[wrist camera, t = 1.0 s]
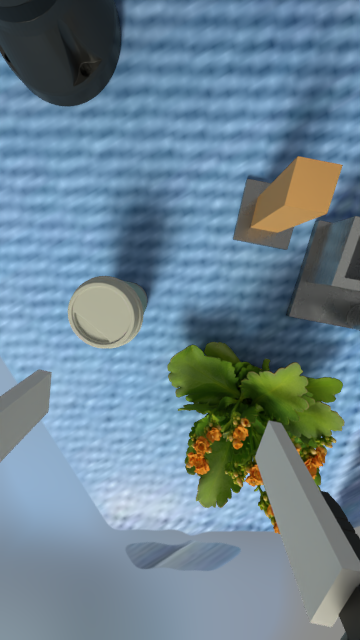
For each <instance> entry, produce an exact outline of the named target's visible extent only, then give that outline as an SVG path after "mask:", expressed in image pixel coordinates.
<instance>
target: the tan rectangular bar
mask: <svg viewBox="0 0 360 640" xmlns="http://www.w3.org/2000/svg"><path fill="white" fill-rule="evenodd" d="M341 169H342V165H340V164H335V163H330V162H324V161H319V160H314V159H309V158H304V157H299V156H298V157H297V158H296V159H295V160H294V161H293V162H292V163H291V164H290V165H289V166H288V167H287V168H286V169H285V170H284V171H283V172H282V173H281V174H280V175H279V176H278V177H277V178H276V179H275V180H274V181H273V182H272V183H271V184H270V185H269V186H268V187H267V188H266V189H265V190H264V192H263V193H262V194H261V195H260V196H259V197H258V199H257V203H256V207H255V211H254V215H253V219H252V223H251V228H256V229H261V230H267V231H272V232H277V233H278V232H281V231H283V230H286V229H289V228H291V227H294V226H296V225H299V224H301V223H304V222H307V221H309V220H312V219H314V218H317V217H320V216H322V215H325V214H327V212H328V209H329V206H330V203H331V200H332V197H333V194H334V190H335V187H336V184H337V181H338V178H339V175H340V172H341Z"/></svg>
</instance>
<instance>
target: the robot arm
mask: <svg viewBox="0 0 360 640" xmlns="http://www.w3.org/2000/svg"><path fill="white" fill-rule="evenodd" d="M120 42H121V32H120V22H119V17H118V12H117V9H116V5H115V2H114V0H0V52H1V54H2V56H3V58H4V59H5V61H6V62H7V64H8V65H9V67H10V68H11V69H12V71H13V72H14V73H15V74H16V75H17V77H18V78H19V79H20V80H21V81H22V82H23V83H24V84H25V85H26V86H27V88H28V89H29V90H30V91H32V92H33V93H34V94H35V95H37V96H38V97H39V98H41V99H43V100H45V101H47V102H49V103H51V104H55V105H59V106H75V105H80V104H83V103H85V102H87V101H89V100H91V99H92V98H94V97H95V96H96V95H98V94H99V93H100V92H101V91H102V90H103V89H104V87H105V86H106V85H107V83H108V82H109V80H110V78H111V77H112V75H113V72H114V70H115V68H116V64H117V61H118V57H119V52H120ZM51 373H52V372H48V371H43V370H37V371H36V372H34V373H33V374H32V375H30V376H29V377H27V378H26V379H24V380H23V381H22V382H20V383H19V384H17V385H16V386H14V387H13V388H12V389H10V390H9V391H7V392H6V393H5V394H3V395H2V396H0V462H1V461H2V460H3V459H4V458H5V457H6V456H7V455H8V454H9V453H10V451H11V450H12V449H13V448H14V447H15V446H16V445H17V444H18V443H19V442H20V441H21V440H22V439H23V438H24V437H25V436H26V435H27V434H28V433H29V432H30V431H31V429H32V428H33V427H34V426H35V425H36V424H37V423H38V422H39V421H40V420H41V419H42V418H43V417H44V416H45V415H46V414H47V413H48V410H49V397H50V385H51ZM255 459H256V462H257V465H258V468H259V471H260V474H261V477H262V480H263V483H264V486H265V489H266V492H267V495H268V498H269V501H270V504H271V507H272V510H273V513H274V516H275V519H276V522H277V525H278V528H279V531H280V534H281V537H282V540H283V543H284V546H285V549H286V552H287V555H288V558H289V561H290V564H291V567H292V570H293V573H294V576H295V579H296V582H297V586H298V589H299V592H300V595H301V598H302V600H303V604H304V607H305V610H306V612H307V616H308V619H309V622H310V623H315V624H319V625H324V626H328V627H332V626H333V625H334V623H335V621H336V620H337V618H338V617H340V619H341V622H342V624H343V626H344V629H345V631H346V632H345V633H344V635H343V636H342V638H341V640H360V538H359V537H358V535H357V534H355V530H354V528H353V527H352V525H351V524H350V522H348V519H347V517H346V515H345V514H344V512H343V511H342V509H341V507H340V506H339V504H338V503H337V502H336V501H335V500H334V499H333V498H332V497H331V496H330V495H329V493H328V492H323V491H320V490H319V489H318V487H317V485H316V483H315V482H314V480H313V478H312V476H311V475H310V473H309V471H308V469H307V468H306V466H305V464H304V462H303V461H302V459H301V457H300V455H299V453H298V452H297V450H296V448H295V446H294V445H293V443H292V441H291V439H290V438H289V436H288V434H287V432H286V431H285V429H284V427H283V425H282V424H281V423H278V422H274V421H268V424H267V427H266V429H265V432H264V434H263V437H262V440H261V442H260V445H259V448H258V450H257V453H256V456H255Z"/></svg>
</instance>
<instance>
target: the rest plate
mask: <svg viewBox="0 0 360 640" xmlns="http://www.w3.org/2000/svg"><path fill="white" fill-rule="evenodd" d="M270 184H271V183H267V182H262V181H256V180H251V179H247V180H246V184H245V189H244V193H243V197H242V202H241V206H240V210H239V215H238V219H237V223H236V228H235V232H234V236H233V240H237V241H242V242H247V243H253V244H258V245H263V246H268V247H273V248H278V249H284V250H287V249H288V245H289V242H290V238H291V235H292V231H293V228H294V227H291V228H289V229H286V230H283V231H281V232H278V233H277V232H272V231H267V230H261V229H256V228H251V223H252V219H253V215H254V211H255V207H256V203H257V199H258V197H259V196H260V195H261V194H262V193H263V192H264V190H265V189H266V188H267V187H268V186H269V185H270Z"/></svg>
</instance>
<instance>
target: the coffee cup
mask: <svg viewBox="0 0 360 640" xmlns="http://www.w3.org/2000/svg"><path fill="white" fill-rule="evenodd" d="M146 307H147V295H146V293H145V291H144V290H143V288H142V287H140V286H139V285H138V284H135V283H132V282H126V281H122V280H120V279H117V278H114V277H110V276H99V277H95V278H92V279H89V280H88V281H86V282H84V283H83V284H82V285H80V286H79V287H78V288H77V290H76V291H75V292H74V294H73V296H72V298H71V300H70V302H69V306H68V318H69V322H70V325H71V327H72V329H73V331H74V332H75V334H76V335H77V336H78V337H79V338H80V339H81V340H82V341H84V342H85V343H87V344H89V345H91V346H94V347H97V348H116V347H119V346H122V345H124V344H126V343H128V342H129V341H131V340H132V339H133V338H134V337H135V336H136V335H137V333H138V332H139V330H140V328H141V325H142V322H143V314H144V312H145V309H146Z"/></svg>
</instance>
